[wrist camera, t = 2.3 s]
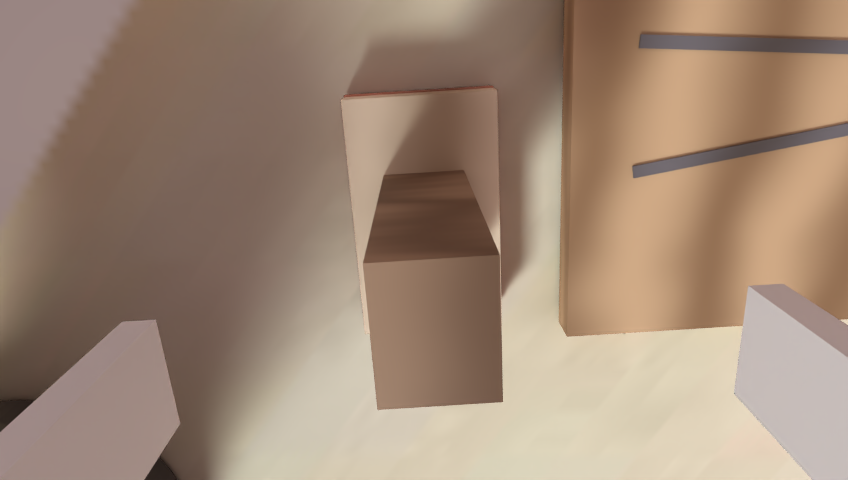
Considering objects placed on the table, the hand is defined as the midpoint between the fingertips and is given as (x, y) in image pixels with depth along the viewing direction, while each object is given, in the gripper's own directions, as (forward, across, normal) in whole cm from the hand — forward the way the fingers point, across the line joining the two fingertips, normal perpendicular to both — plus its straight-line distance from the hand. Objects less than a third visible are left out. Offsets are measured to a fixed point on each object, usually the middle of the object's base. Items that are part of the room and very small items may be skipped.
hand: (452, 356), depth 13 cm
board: (+13, +12, +5) cm, 19 cm away
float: (+13, 0, 0) cm, 13 cm away
